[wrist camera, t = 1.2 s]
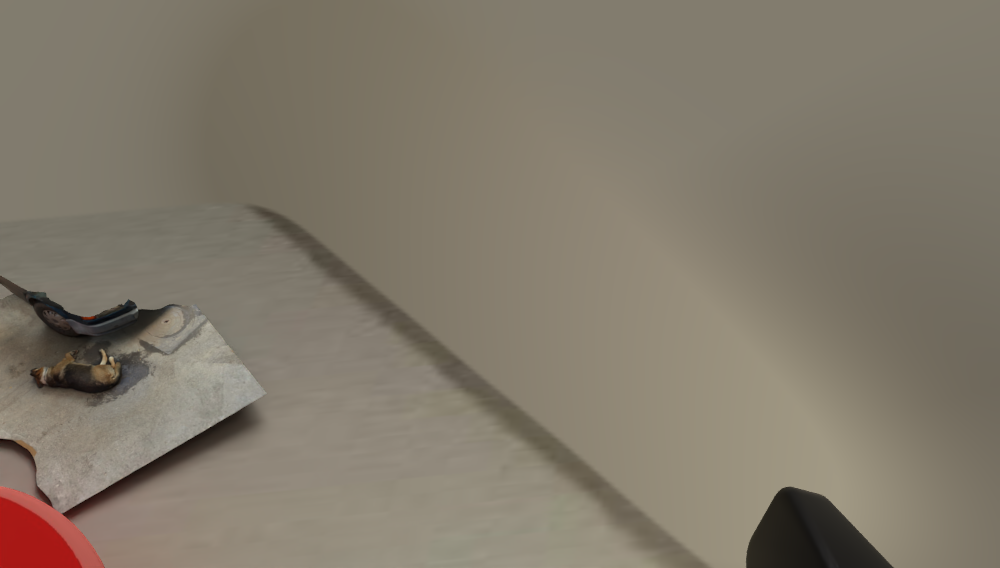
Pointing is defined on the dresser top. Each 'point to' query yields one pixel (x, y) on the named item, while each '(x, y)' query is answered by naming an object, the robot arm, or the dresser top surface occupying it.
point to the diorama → (109, 388)
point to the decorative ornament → (40, 536)
